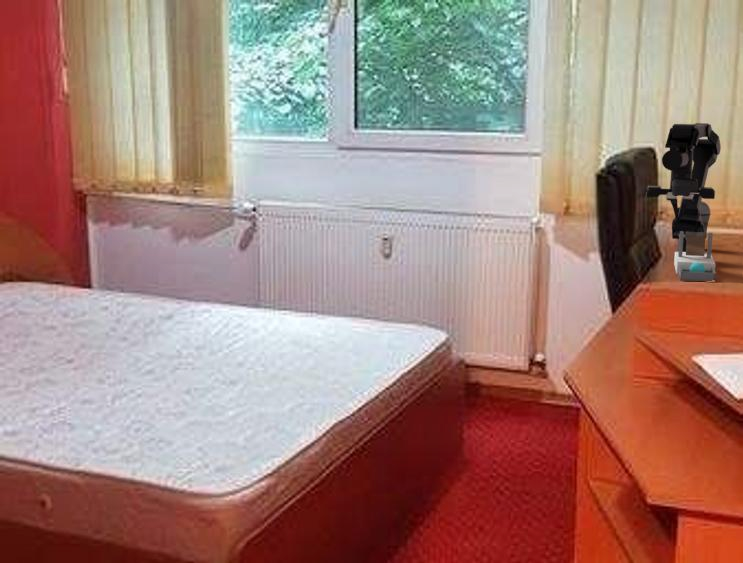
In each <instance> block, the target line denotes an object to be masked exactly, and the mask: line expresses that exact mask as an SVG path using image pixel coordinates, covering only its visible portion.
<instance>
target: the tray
mask: <svg viewBox="0 0 743 563" xmlns="http://www.w3.org/2000/svg"><path fill="white" fill-rule="evenodd" d="M678 277H679V281H680V280H682V281H681V282H695V281H712V280H716V278H717V272H716V269H715V270H714V268H713V267H711V271H706V270H705V272H690V270H687V269H682V267H681V266H679V274H678ZM716 281H717V280H716Z"/></svg>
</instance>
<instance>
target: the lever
mask: <svg viewBox="0 0 743 563" xmlns="http://www.w3.org/2000/svg"><path fill="white" fill-rule="evenodd" d="M707 238H708V232H686V255H690V256H704V255H705V253H706V250H705V249H706V239H707Z"/></svg>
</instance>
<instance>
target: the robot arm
mask: <svg viewBox="0 0 743 563" xmlns="http://www.w3.org/2000/svg"><path fill="white" fill-rule="evenodd" d="M664 147H665V149H669V150H668V151H666V152H665V153H664V154H663V156H662V158H661V164H662V166H663V167H664V168H665V169H666V170H667V171H670V182H669V183H670V184H669V188H662V187H661V185H647V187H648V188H647V187H646V188H647V192H646V191H645V197H648V198H658V197H660V196H666V197H665V199H666V201H669V202H670V203H671V206H672V209H673V214H674V218H673V219H672V223H671V237H672V238H671V239H673V240H677V249H676V250H677V251H676V252H679V238H680V231H683V232H684V238H683V251H682V252H686V232H705V230H704V225H703V221H702V217H701V215H700V212H699V208H700V204H701V201H702V199H704V200H715V198H716V191H715V189H714V188H713V187H710V186H709V187H707V186H706V182H707V179H708V178H707V177H708V173H709V169H710V168H711V167H712V166H713V165H714V164H715V163H716V161H717V158H718V156H719V155H720V153H721V141H720V136H719V135H718V134H717V133H716V132H715V131H714V130H713V129H712V125H711V124H710V123H703V122H695V123H692V124H691V123H688V124H687V123H674V124H672V126H671V127H670V128H669V132H668V135H667V139H666V142H665V145H664ZM680 196H681V199H680V204H679V205H678V198H677V197H680Z"/></svg>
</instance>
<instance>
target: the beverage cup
mask: <svg viewBox="0 0 743 563" xmlns="http://www.w3.org/2000/svg"><path fill="white" fill-rule="evenodd" d="M699 212H700V215H701V217H702V221H703V225H704V230H705V232H707V231H708V226H709V221H710V219H711V218H710V217H711V208H710V206H709V205H708V204H707V203H706V202H705V201H702V200H701V204H700V208H699ZM707 233H708V232H707Z"/></svg>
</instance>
